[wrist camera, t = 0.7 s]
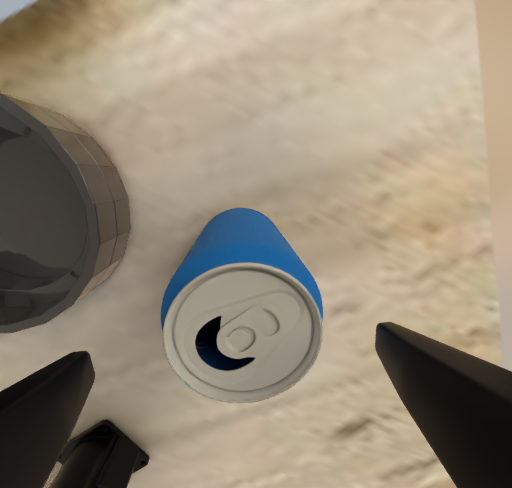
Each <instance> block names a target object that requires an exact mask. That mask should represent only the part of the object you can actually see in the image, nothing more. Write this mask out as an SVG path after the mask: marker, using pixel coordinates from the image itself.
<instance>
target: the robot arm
mask: <svg viewBox="0 0 512 488" xmlns="http://www.w3.org/2000/svg"><path fill="white" fill-rule="evenodd" d="M375 348H376V352H377V354H378V356H379V358H380V360H381V362H382V364H383V366H384V368H385V370H386V372H387V374H388V376H389V378H390V379H391V381H392V383H393V385H394V387H395V389H396V391H397V393H398V395H399V397H400V398H401V400H402V402H403V403H404V405H405V407H406V408H407V410H408V412H409V413H410V415H411V416H412V418H413V419H414V421H415V422H416V424H417V426H418V427H419V429H420V430H421V432H422V433H423V435H424V437H425V438H426V440H427V441H428V443H429V444H430V446H431V448H432V449H433V451H434V452H435V454H436V455H437V457H438V458H439V460H440V462H441V463H442V465H443V466H444V468H445V469H446V471H447V473H448V474H449V476H450V477H451V479H452V480H453V482H454V483H455V485H456V487H457V488H512V372H511V371H509V370H506V369H504V368H501V367H499V366H497V365H494V364H492V363H489V362H487V361H484V360H482V359H480V358H477V357H475V356H472V355H470V354H467V353H465V352H463V351H460V350H458V349H455V348H453V347H451V346H448V345H446V344H443V343H441V342H438V341H436V340H434V339H431V338H429V337H426V336H424V335H421V334H419V333H417V332H414V331H412V330H409V329H407V328H404V327H402V326H400V325H397V324H395V323H392V322H384V323H379V324H378V325H377V328H376V340H375ZM94 379H95V372H94V368H93V364H92V361H91V357H90V354H89V353H88V352H87V351H79V352H72V353H70V354H68V355H66V356H64V357H62V358H61V359H59V360H57V361H55V362H53V363H52V364H50V365H48V366H46V367H44V368H42V369H41V370H39V371H37V372H35V373H33V374H32V375H30V376H28V377H26V378H24V379H22V380H21V381H19V382H17V383H15V384H13V385H12V386H10V387H8V388H6V389H4V390H3V391H1V392H0V488H43V486H44V484H45V483H46V481H47V479H48V477H49V475H50V473H51V471H52V470H53V468H54V466H55V464H56V462H57V461H59V462H60V463H61V464H62V465H63V466H62V468H61V469H60V471H59V473H58V474H57V476H56V478H55V479H54V481H53V483H52V484H51V486H50V487H49V488H127V486H128V483H129V480H130V478H131V475H132V473H134V472H136V471H138V470H139V469H141V468H143V467H144V466H146V465H147V464H148V462H149V459H150V458H149V456H148V455H147V454H146V453H145V452H144V451H142V450H141V449H140V448H139V447H138V446H137V445H136V444H135V443H134V442H132V441H131V440H130V439H129V438H128V437H127V436H126V435H125V434H124V433H122V432H121V431H120V430H119V429H118V428H117V427H116V426H115V425H113V424H112V423H111V422H110V421H108V420H104V421H102V422H100V423H98V424H97V425H95V426H93V427H92V428H90V429H89V430H87V431H85V432H84V433H82V434H80V435H79V436H77V437H76V438H74V439H72V440H71V441H69V442H67V441H68V439H69V437H70V435H71V433H72V431H73V429H74V427H75V424H76V422H77V420H78V417H79V415H80V413H81V411H82V408H83V406H84V404H85V401H86V399H87V397H88V394H89V392H90V390H91V387H92V385H93V383H94Z"/></svg>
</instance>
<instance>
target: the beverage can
mask: <svg viewBox="0 0 512 488" xmlns="http://www.w3.org/2000/svg"><path fill="white" fill-rule="evenodd" d="M322 318H323V307H322V300H321V295H320V291H319V289H318V286H317V284H316V282H315V280H314V278H313V276H312V275H311V273H310V272H309V271H308V269H307V268H306V267H305V265H304V264H303V263H302V261H301V260H300V259H299V257H298V256H297V255H296V253H295V252H294V250H293V249H292V248H291V246H290V245H289V244H288V242H287V241H286V240H285V238H284V237H283V236H282V234H281V233H280V232H279V230H278V229H277V227H276V226H275V225H274V223H273V222H272V221H271V220H270V219H269V218H267V217H266V216H265V215H263V214H262V213H260V212H257V211H255V210H251V209H246V208H235V209H230V210H227V211H224V212H222V213H220V214H218V215H217V216H215V217H214V218H213V219H212V220H211V221H210V222H209V223H208V224H207V225H206V227H205V228H204V230H203V231H202V233H201V234H200V236H199V237H198V239H197V241H196V242H195V244H194V245H193V247H192V248H191V250H190V251H189V253H188V254H187V256H186V258H185V259H184V261H183V262H182V264H181V265H180V267H179V268H178V270H177V271H176V273H175V274H174V276H173V278H172V279H171V281H170V283H169V285H168V287H167V289H166V291H165V294H164V297H163V302H162V307H161V325H162V331H163V347H164V351H165V355H166V358H167V360H168V362H169V365H170V366H171V368H172V369H173V371H174V373H175V374H176V375H177V376H178V377H179V379H180V380H181V381H182V382H184V383H185V384H186V385H187V386H188V387H190V388H191V389H192V390H194V391H196V392H197V393H199V394H201V395H203V396H206V397H208V398H211V399H214V400H218V401H222V402H228V403H251V402H257V401H261V400H265V399H269V398H271V397H274V396H276V395H279V394H280V393H282V392H284V391H286V390H288V389H289V388H291V387H292V386H294V385H295V384H296V383H297V382H298V381H300V380H301V379H302V378H303V377H304V375H305V374H306V373H307V372H308V371H309V369H310V368H311V367H312V365H313V363H314V362H315V360H316V358H317V355H318V353H319V350H320V347H321V342H322V334H323V329H322Z"/></svg>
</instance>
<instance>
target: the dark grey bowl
mask: <svg viewBox="0 0 512 488" xmlns="http://www.w3.org/2000/svg"><path fill="white" fill-rule="evenodd" d="M130 229H131V226H130V213H129V201H128V196H127V194H126V191H125V189H124V186H123V184H122V181H121V179H120V176H119V174H118V172H117V169H116V167H115V166H114V164H113V163H112V162H111V161H110V159H109V158H108V157H107V155H106V154H105V153H104V152H103V150H102V149H101V148H100V146H99V145H98V144H97V143H96V141H95V140H94V139H93V138H92V137H91V136H90V135H88V134H87V133H86V132H84V131H83V130H82V129H80V128H79V127H78V126H76V125H75V124H73V123H72V122H71V121H69V120H68V119H67V118H65V117H64V116H63V115H61V114H59V113H56V112H53V111H51V110H48V109H46V108H43V107H41V106H38V105H35V104H33V103H30V102H28V101H25V100H22V99H19V98H17V97H14V96H11V95H8V94H5V93H2V92H0V333H13V332H17V331H20V330H24V329H27V328H31V327H35V326H38V325H42V324H45V323H47V322H49V321H50V320H51V319H53V318H54V317H56V316H57V315H59V314H60V313H62V312H63V311H65V310H66V309H68V308H69V307H71V306H72V305H74V304H75V303H76V302H77V301H79V300H80V299H81V298H83V297H84V296H85V295H86V294H88V293H89V292H90V291H91V290H93V289H94V288H95V287H97V286H98V285H99V284H101V283H102V282H103V281H104V280H106V279H107V278H108V277H109V276H110V274H111V273H112V271H113V270H114V269H115V267H116V266H117V264H118V263H119V262H120V260H121V259H122V257H123V255H124V252H125V248H126V244H127V241H128V237H129V233H130Z"/></svg>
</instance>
